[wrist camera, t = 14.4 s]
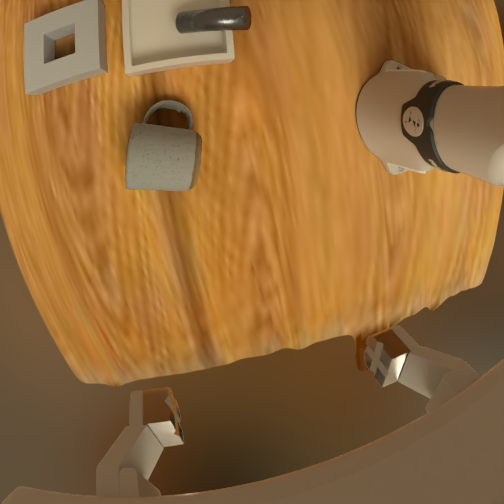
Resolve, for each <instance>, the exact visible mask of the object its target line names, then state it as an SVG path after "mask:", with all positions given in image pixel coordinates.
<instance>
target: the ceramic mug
mask: <svg viewBox="0 0 504 504" xmlns="http://www.w3.org/2000/svg"><path fill="white" fill-rule="evenodd" d="M160 108H167V109H172V110H176V111H177V112H183V113H184V114H185V116H186V117H187V120H188V129H184V128H174V127H166V126H160V125H152V124H146V123H147V121H148V119H149V117H150V116H151V114H152V113H153V112H154V111H155V110H157V109H160ZM192 128H193V118H192V114H191V112H190V110H189V109H188V108H187V107H186V106H185V105H184V104H182V103H180V102H177V101H172V100H163V101H160V102H158V103H156V104H155V105H153V106H152V107H151V108H150V109H149V110H148V112H147V113H146V115H145V117H144V119H143V122H142V123H134V124H133V126H132V129H131V133H130V137H129V143H128V149H127V158H126V170H125V186H126V188H127V189H130V190H167V191H185V190H190V189H192V188H193V187H194V186H195V184H196V182H197V178H198V174H199V168H200V162H201V151H202V139H201V136H200V135H199V134H198V133H197V132H194V131H192Z"/></svg>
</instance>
